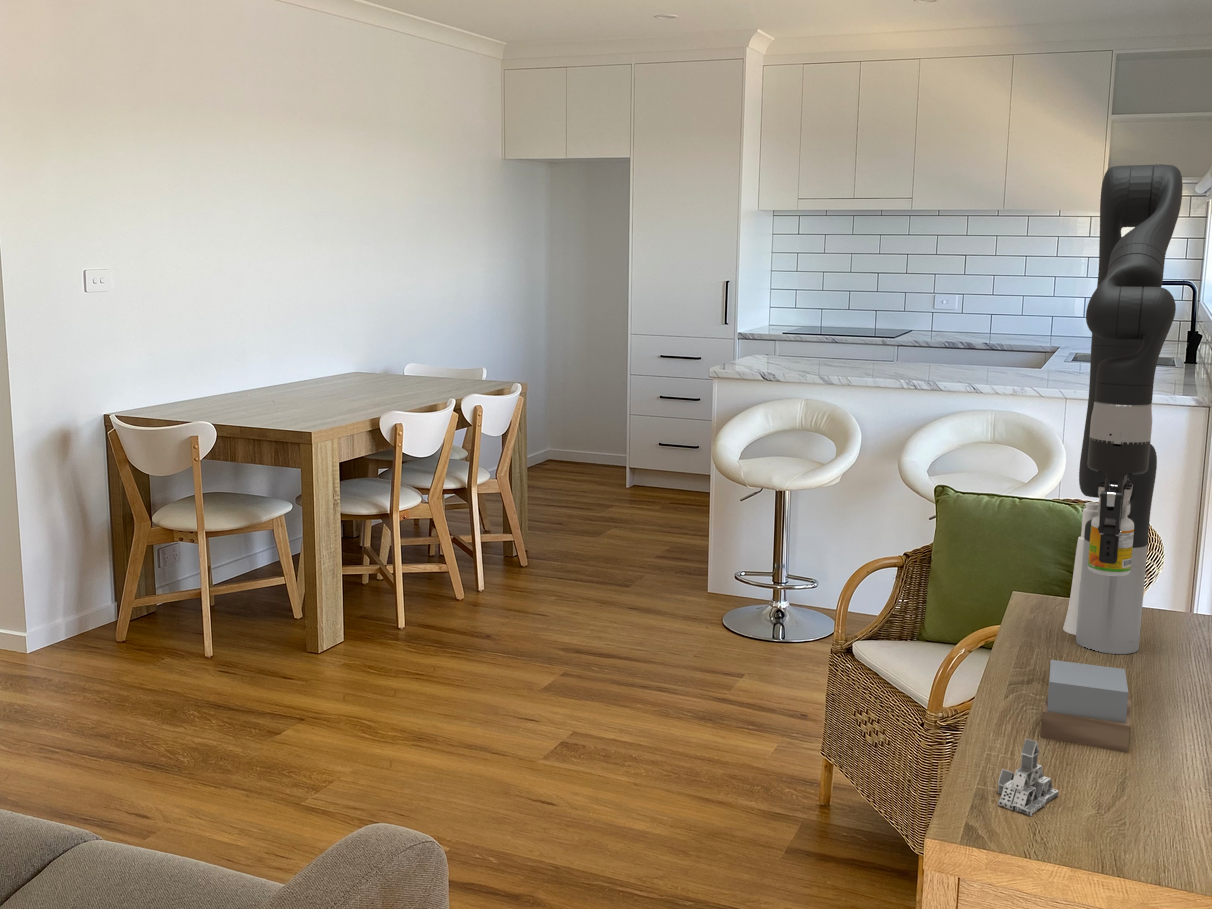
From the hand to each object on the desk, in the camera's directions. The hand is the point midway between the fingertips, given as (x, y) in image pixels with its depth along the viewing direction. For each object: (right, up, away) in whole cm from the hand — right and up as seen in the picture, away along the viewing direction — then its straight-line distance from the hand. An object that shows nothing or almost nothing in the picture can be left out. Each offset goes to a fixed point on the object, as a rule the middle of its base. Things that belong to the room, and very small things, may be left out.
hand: (1109, 557), depth 151 cm
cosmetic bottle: (+11, -16, +33) cm, 38 cm away
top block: (-7, -18, -10) cm, 22 cm away
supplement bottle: (0, -2, 0) cm, 2 cm away
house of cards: (-24, -25, -27) cm, 43 cm away
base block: (-7, -22, -9) cm, 25 cm away
